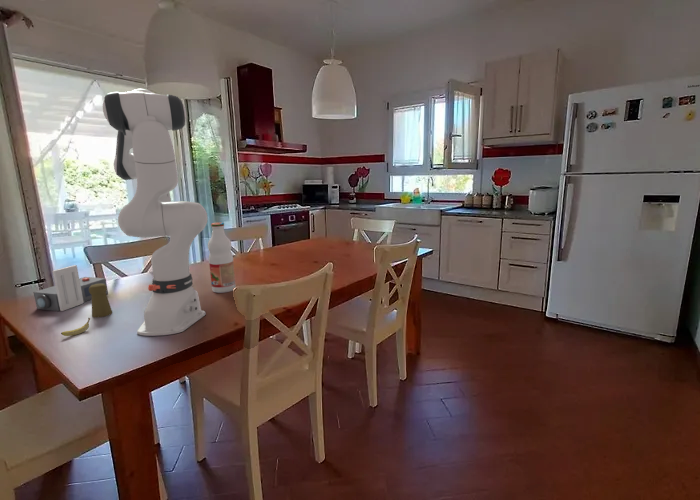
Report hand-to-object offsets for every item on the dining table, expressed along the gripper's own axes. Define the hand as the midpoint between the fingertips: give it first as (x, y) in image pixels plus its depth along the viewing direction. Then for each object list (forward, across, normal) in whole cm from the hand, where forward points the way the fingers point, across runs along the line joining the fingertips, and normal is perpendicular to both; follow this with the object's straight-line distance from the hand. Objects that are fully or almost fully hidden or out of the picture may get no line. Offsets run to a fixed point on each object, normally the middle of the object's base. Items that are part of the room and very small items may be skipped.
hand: (159, 218), depth 158 cm
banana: (+30, +51, -6) cm, 59 cm away
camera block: (+29, +19, -28) cm, 45 cm away
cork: (+29, +35, -8) cm, 46 cm away
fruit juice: (+29, +12, +28) cm, 42 cm away
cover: (+29, +27, -23) cm, 46 cm away
